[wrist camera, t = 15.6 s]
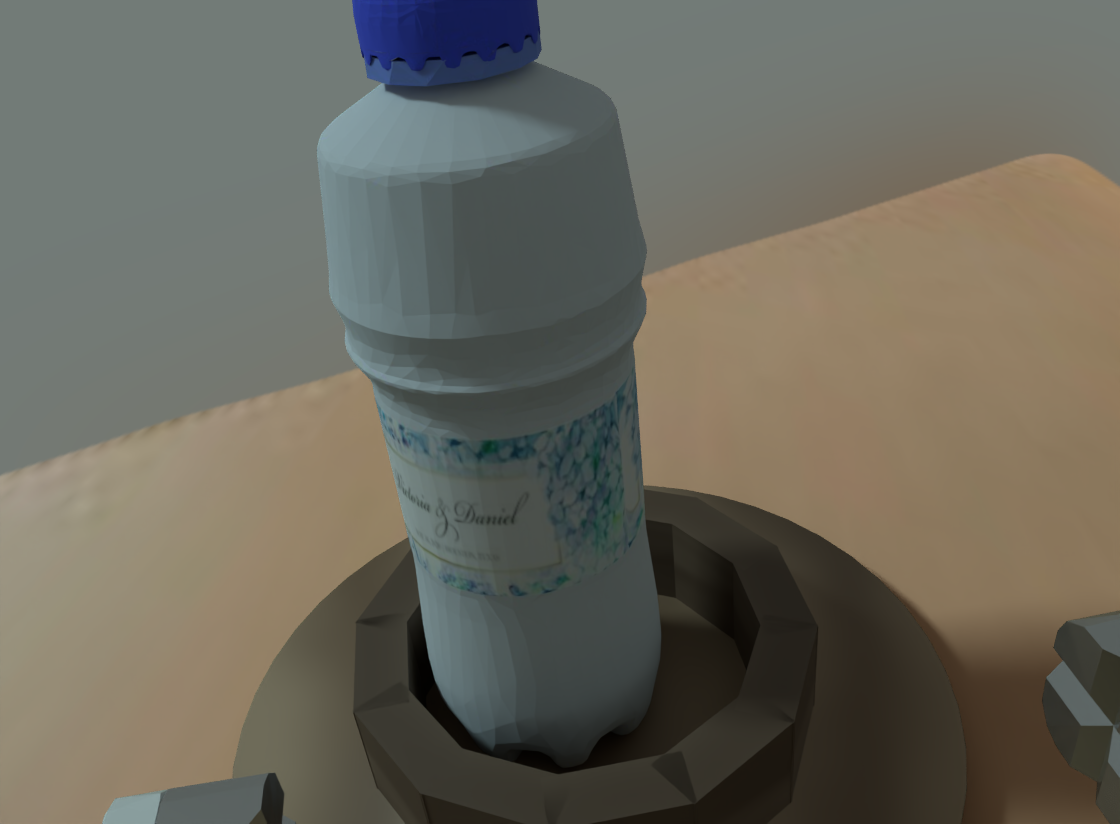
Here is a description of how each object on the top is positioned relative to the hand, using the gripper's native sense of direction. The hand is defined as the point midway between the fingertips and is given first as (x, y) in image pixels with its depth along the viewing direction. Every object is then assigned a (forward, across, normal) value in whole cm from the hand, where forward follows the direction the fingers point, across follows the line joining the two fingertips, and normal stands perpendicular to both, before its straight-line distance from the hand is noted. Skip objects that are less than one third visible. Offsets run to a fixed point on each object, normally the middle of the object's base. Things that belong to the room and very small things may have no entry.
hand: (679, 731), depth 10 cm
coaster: (+13, 0, -15) cm, 20 cm away
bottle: (+13, -1, -14) cm, 19 cm away
